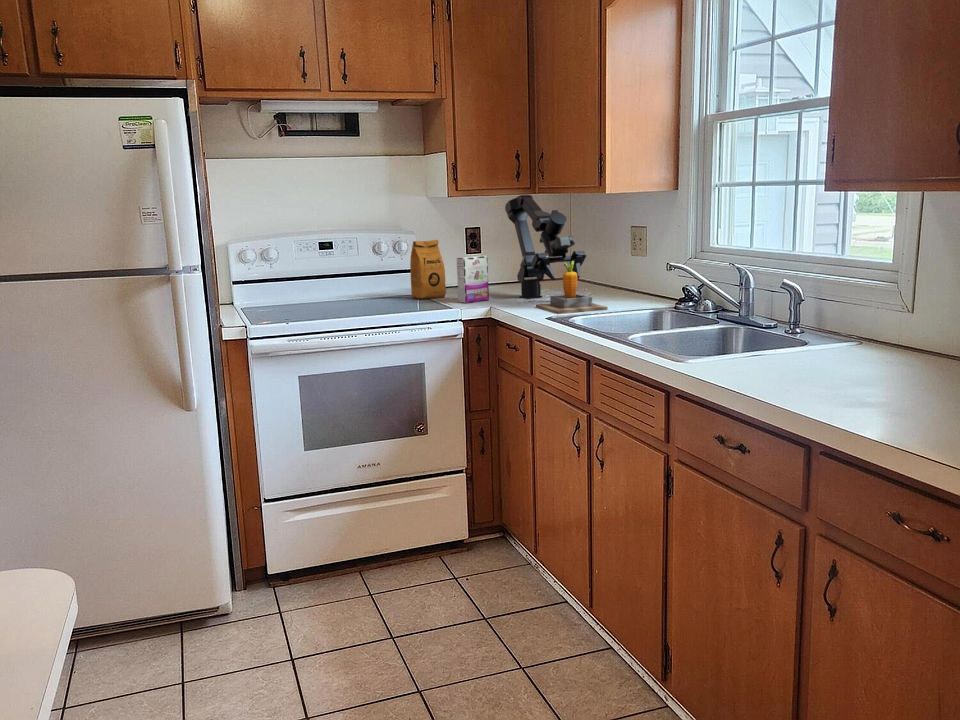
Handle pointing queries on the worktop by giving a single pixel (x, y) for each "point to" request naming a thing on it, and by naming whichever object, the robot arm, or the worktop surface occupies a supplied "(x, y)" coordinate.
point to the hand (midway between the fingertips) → (566, 278)
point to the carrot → (570, 282)
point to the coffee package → (427, 270)
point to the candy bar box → (472, 279)
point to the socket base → (570, 304)
